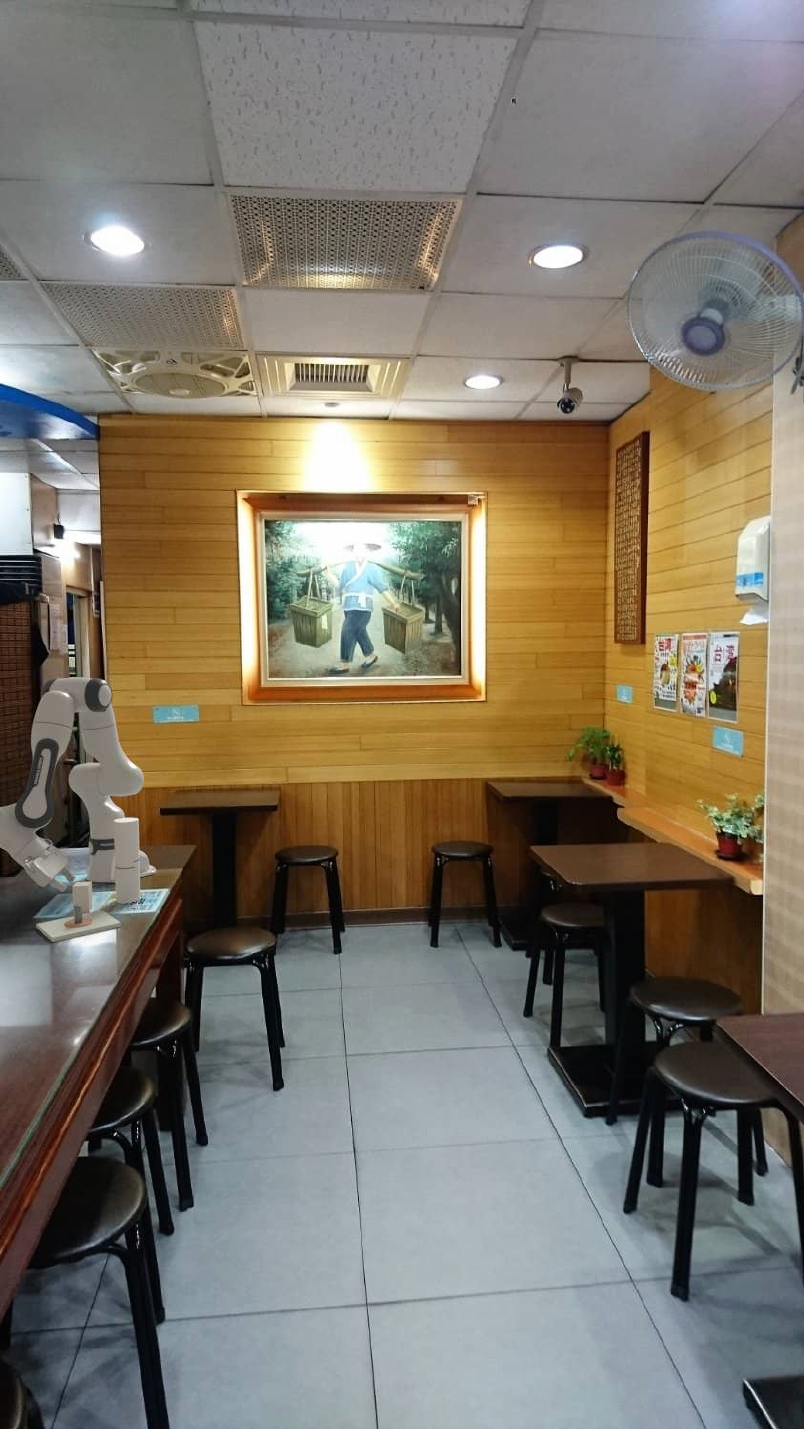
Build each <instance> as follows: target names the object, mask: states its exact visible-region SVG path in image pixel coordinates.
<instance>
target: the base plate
mask: <svg viewBox="0 0 804 1429" xmlns="http://www.w3.org/2000/svg"><path fill="white" fill-rule="evenodd" d="M73 914H74V915H73V916H69V917H68V916H67V917H63V918H58V919H54V920H49V921H44V922H39V923H35V924H36V926H35V928H36V929H37V930H38V929H39V930H40V931H41V932H42V933H41V932H40V931H39V930H38V931H39V932H40V933H41V934H43V935H44V936H45V937H46V938H47V939H48V940H50V941H51V942H52V943H56V942H59V941H64V940H69V939H73V938H76V937H77V938H78V937H81V936H86V935H90V934H95V933H99V932H103V931H108V930H112V929H117V928H120V927H122V926H121V925H122V924H121V922H120V921H119V920H117V919H116V918H114V917H113V916H112V915H110V914H108V913H107V912H105V911H104V910H102V909H101V910H98V911H97V910H96V911H90V912H89V913H82V905H81V904H78V905H74V913H73Z"/></svg>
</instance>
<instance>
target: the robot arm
mask: <svg viewBox="0 0 804 1429" xmlns="http://www.w3.org/2000/svg"><path fill="white" fill-rule="evenodd" d="M40 693H41V695H40V696H41V699H40V701H39V703H38V706H37V709H36V711H35V714H34V718H33V722H32V726H31V735H30V744H31V745H30V746H31V753H32V763H31V767H30V771H29V772H30V773H29V776H28V782H27V786H26V789H25V790H24V792H23V793H22V795H21V796H20V798H18V800H17V802H16V803H12V804H10V805H6V806H5V805H4V806H0V848H1V849H3V850H5V851H6V852H7V853H8V854H9V855H10V857H11V858H13V860H14V861H16V862H17V863H18V864H19V865H20V866H22V868H24V869H25V872H26V874H27V875H28V876H29V877H30V878H31V879H32V880H33V881H34V882H35V883H36V884H37V885H38V886H40V887H42V888H45V887H46V886H47V885H49V886H51V887H52V888H55V889H57V890H58V891H60V892H62V893H63V892H65V890H67V888H68V885H67V884H65V883H64V882H61V881H59V880H58V878H57V877H56V876H58V874H61V875H62V876H64V877H65V879H66V881H67V882H68V883H73V882H74V881H75V880H76V876H75V875H74V874H72V872H71V870H70V868H68V867H67V866H68V865H69V863H70V860H69V859H68V858H67V857H66V856H65V854H64V853H63V852H62V851H60V849H58V848H57V847H56V846H55V845H53V844H54V843H53V841H52V840H50V839H49V838H42V837H40V836H38V835H37V834H36V831H39V830H40V829H41V828H44V827H45V826H47V825H48V824H49V823H50V822H51V820H52V819H53V816H54V812H55V806H54V802H53V799H52V798H53V797H52V786H53V782H54V776H55V772H56V766H57V764H58V761H60V760H59V759H60V758H61V756H62V755H63V754H65V752H66V750H67V748H68V745H69V743H70V740H71V737H72V732H73V728H74V723H75V722H74V720H75V713H78V718H79V720H78V721H79V726H80V728H79V729H80V734H81V740H82V746H83V749H84V751H85V752H86V753H87V754H88V755H90V756H91V757H93V758H94V759H96V761H97V762H86V763H81V764H76V765H74V766H73V767H72V769H71V770H70V773H69V774H68V784H69V787H70V789H71V790H72V791H73V792H74V793H75V794H77V796H79V798H80V799H81V801H82V802H83V804H84V805H85V807H86V810H87V813H88V817H89V832H90V834H89V835H90V836H89V839H88V851H89V852H88V853H89V864H88V871H87V874H86V878H85V880H87V881H88V882H91V881H92V883H114V884H115V844H114V820H116V819H120V818H126V816H125V812H124V810H123V809H122V808H121V807H120V806H118V805H116V804H115V803H114V801H113V800H112V798H111V797H127V796H128V797H129V796H133V795H137V794H138V793H140V792H141V790H142V789H143V786H144V783H145V777H144V776H145V775H144V773H143V771H142V769H141V768H140V767H139V766H138V765H135V763H133V762H132V761H131V760H130V759H129V758H128V756H127V754H126V753H125V751H124V750H123V749H122V746H121V744H120V740H119V733H118V729H117V722H116V716H115V712H114V709H113V705H112V701H113V700H112V699H113V689H112V688H111V686H110V684H109V683H108V681H107V680H105V679H102V678H96V677H93V678H91V677H84V676H83V677H82V676H81V677H80V676H78V677H77V676H74V677H64V678H61V677H56V678H51V679H50V680H47V682H46V683H44V685H43V687H42V690H41V692H40ZM139 857H140V858H139V859H140V878H143V877H146V876H151V875H154V874H156V873H157V869H156V867H155V866H153V865H151V864H150V861H149V858H148V855H147V854H146V853H145V852H144V851H142V850H140V849H139Z"/></svg>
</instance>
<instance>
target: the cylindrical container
mask: <svg viewBox="0 0 804 1429" xmlns="http://www.w3.org/2000/svg"><path fill="white" fill-rule="evenodd" d="M139 822H140V820H139V818H138V817H125V818H120V819H116V820H114V844H115V883H114V884H115V902H116V903H117V904H126V903H128V904H133V903H132V902H134V903H137V902H139V901H140V900H141V877H140V859H139V858H140V857H139V850H140V829H139V827H140V823H139ZM139 899H140V900H139ZM138 900H139V901H138ZM136 901H137V902H136Z"/></svg>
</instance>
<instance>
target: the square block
mask: <svg viewBox="0 0 804 1429" xmlns="http://www.w3.org/2000/svg"><path fill="white" fill-rule="evenodd" d="M71 887H72V912H73V914H74V905H78V904H81V905H82V914H86V913H91V912H92V910H93V882H92V881H77V882H75V883H74V884H73V885H72V886H71Z"/></svg>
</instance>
